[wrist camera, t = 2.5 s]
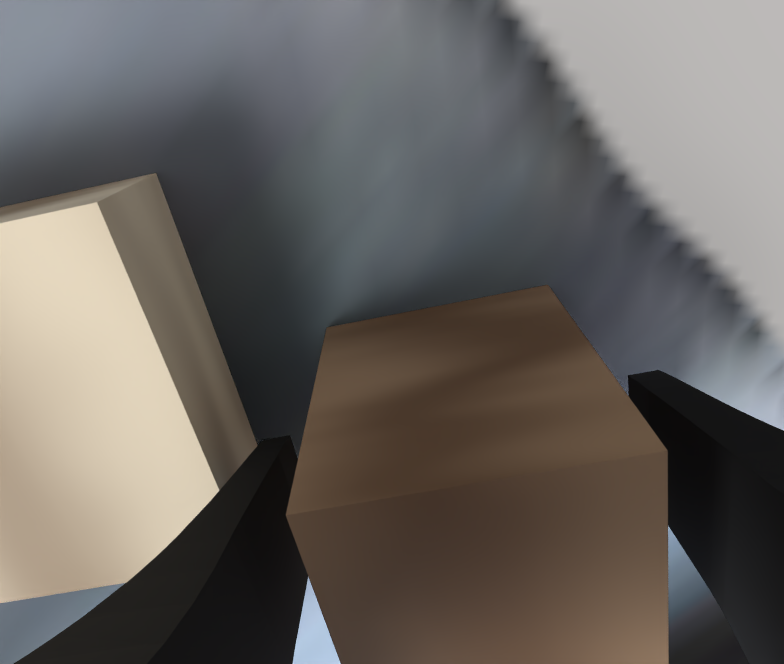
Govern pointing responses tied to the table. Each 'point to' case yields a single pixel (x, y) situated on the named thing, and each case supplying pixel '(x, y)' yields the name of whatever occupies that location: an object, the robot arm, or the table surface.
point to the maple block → (104, 390)
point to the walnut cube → (481, 492)
